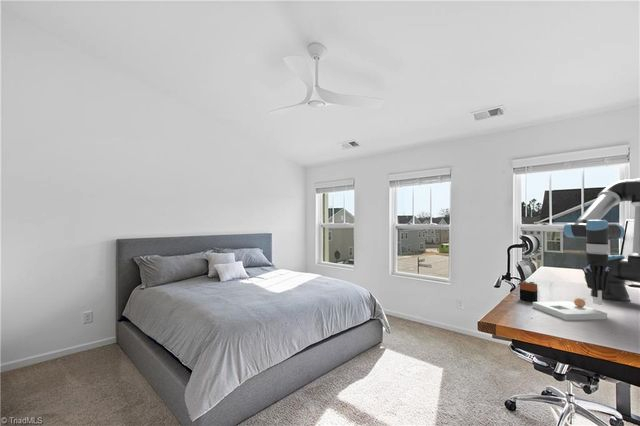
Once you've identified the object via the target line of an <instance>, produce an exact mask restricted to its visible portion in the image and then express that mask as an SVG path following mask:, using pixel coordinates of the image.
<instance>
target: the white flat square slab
mask: <svg viewBox="0 0 640 426" xmlns="http://www.w3.org/2000/svg"><path fill="white" fill-rule="evenodd" d="M532 308H534V309H536V310H539V311H541V312H544V313H547V314H550V315H552V316H554V317H557V318H560V319H562V320H565V321H578V320H579V321H581V320H583V321H585V320H586V321H587V320H588V321H589V320H607V319H608V312H604V311H601V310H598V309H596V308H591V307H588V306H586V305H585V306H584V307H578V306H576V305H575V304H574V301H569V300H568V301H567V300H566V301H536V302H532Z"/></svg>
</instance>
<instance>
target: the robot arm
mask: <svg viewBox="0 0 640 426" xmlns="http://www.w3.org/2000/svg"><path fill="white" fill-rule="evenodd" d="M622 202H631V203H630V204H631V205H632V206H634V217H633V218H634V221H633V223H634V224H633V234H632V235H633V239H632V252H630V253H629V254H628V255H627V258H626V257H625V256H624V255H623V254H619V255H618V254H613V255H612V254H609V241H616V240H620V239H622V238H623V237H625V233H626V231H625V228H624V227H623V226H622V225H620V224H617V223H609V222H608V221H607V220H606V219H603V218H604V217H605V215H607V213H609V211H610V210H611V209H612V208H613V207H614V206H617V205H619V204H620V203H622ZM562 229H563V230H562V231H563V234H564V236H566V237H567V238H574V239H586V241H585V242H586V244H585V245H586V247H585V248H586V249H585V250H586V255H585V258H586V259H585V260H586V261H587V264H586V267H582V272H583V273H584V278H585V281H586V286H587V288H588V289H589V290H590V289H591V290H590V295H591V296H592V304H594V305H598V306H602V305H603V300H610V301H620V302H625V301H630V294H629V293H628V291H627V287H626V285H625V281H626V282H631V283H632V282H633V283H637V284H640V178H633V179H632V178H631V179H622V180H618V181H615V182H614V183H612V184H610V185H608V186H606V187H604V188H603V189H602V190H601V191H600V192H599V193H598V194H597V198H596V199H595V200H594V201H593V202H592V204H590V206H589V207H588V208H587V209H586V210H585V211H584V212H583V213H582V214H581V215H580V216H579V218H577V220H576V221H574V222H570V223H565V224H564V226H563V228H562Z"/></svg>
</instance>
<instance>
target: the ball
mask: <svg viewBox="0 0 640 426" xmlns="http://www.w3.org/2000/svg"><path fill="white" fill-rule="evenodd" d="M573 303H574V304H575V305H576V306H578V307H584V306H585V307H586V301H585V300H584V299H583V298H581V297H579V298H575V299H574V300H573Z"/></svg>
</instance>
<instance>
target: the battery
mask: <svg viewBox="0 0 640 426" xmlns="http://www.w3.org/2000/svg"><path fill="white" fill-rule="evenodd" d="M519 300H521V301H524V302H529V303H533V302H538V284H537V283H535V281H529V282H527V281H526V280H522V281H521V282H519Z"/></svg>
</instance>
